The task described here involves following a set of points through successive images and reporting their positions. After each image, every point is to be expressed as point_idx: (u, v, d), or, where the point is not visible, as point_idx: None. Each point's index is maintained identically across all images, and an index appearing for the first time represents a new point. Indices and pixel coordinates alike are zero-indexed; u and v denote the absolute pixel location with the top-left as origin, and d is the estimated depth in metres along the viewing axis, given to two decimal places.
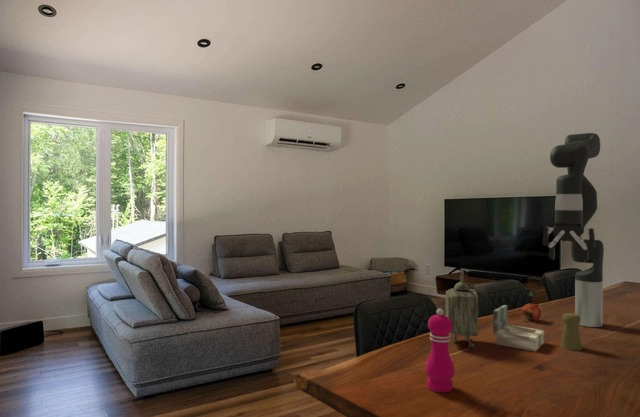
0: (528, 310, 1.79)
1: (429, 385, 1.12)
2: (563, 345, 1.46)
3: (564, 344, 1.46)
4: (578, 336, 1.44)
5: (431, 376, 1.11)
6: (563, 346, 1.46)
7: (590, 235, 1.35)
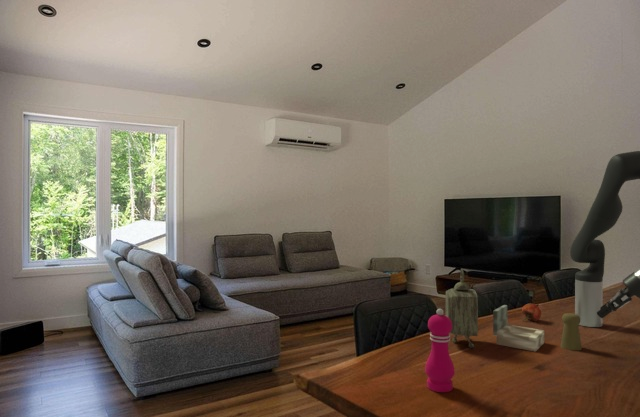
0: (528, 310, 1.79)
1: (429, 385, 1.12)
2: (563, 345, 1.46)
3: (564, 344, 1.46)
4: (578, 336, 1.44)
5: (431, 376, 1.11)
6: (563, 346, 1.46)
7: None
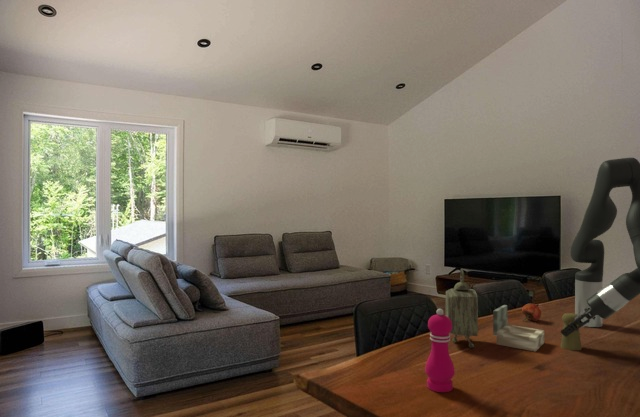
0: (528, 310, 1.79)
1: (429, 385, 1.12)
2: (563, 345, 1.46)
3: (564, 344, 1.46)
4: (578, 336, 1.44)
5: (431, 376, 1.11)
6: (563, 346, 1.46)
7: None
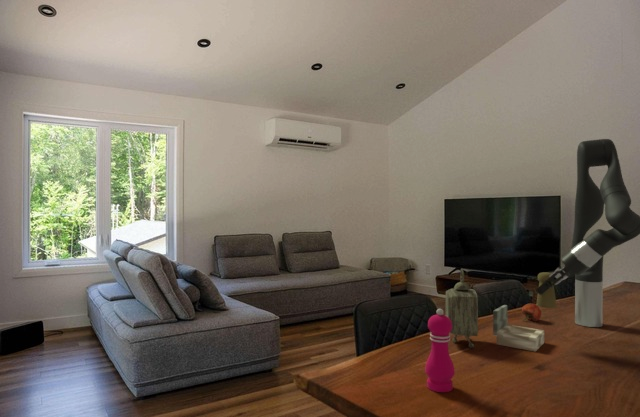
0: (528, 310, 1.79)
1: (429, 385, 1.12)
2: (538, 303, 1.47)
3: (539, 302, 1.47)
4: (553, 294, 1.46)
5: (431, 376, 1.11)
6: (538, 304, 1.47)
7: None
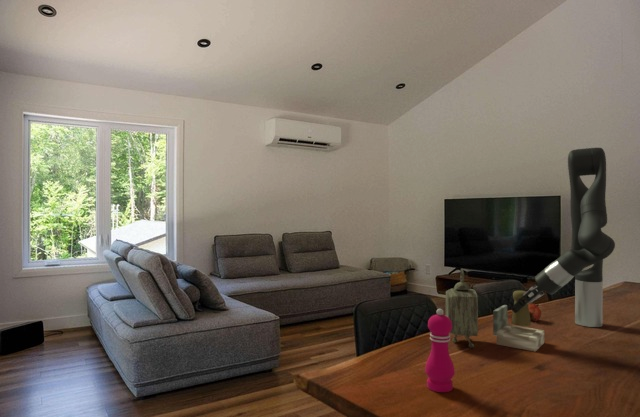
0: None
1: (429, 385, 1.12)
2: (513, 321, 1.50)
3: (514, 320, 1.49)
4: (527, 312, 1.48)
5: (431, 376, 1.11)
6: (513, 322, 1.50)
7: None
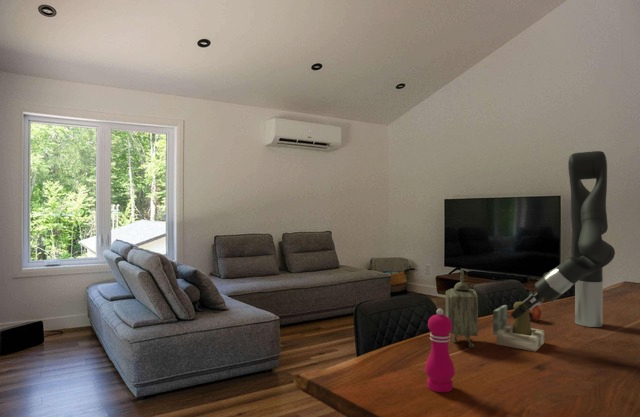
0: None
1: (429, 385, 1.12)
2: (514, 332, 1.50)
3: (515, 332, 1.49)
4: (528, 323, 1.48)
5: (431, 376, 1.11)
6: None
7: None
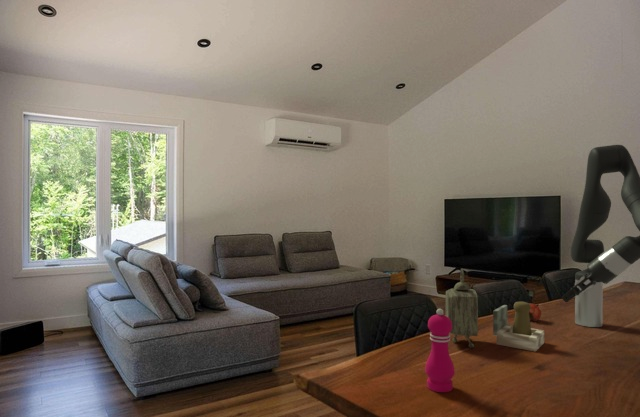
0: None
1: (429, 385, 1.12)
2: (514, 332, 1.50)
3: (515, 332, 1.49)
4: (528, 323, 1.48)
5: (431, 376, 1.11)
6: None
7: None
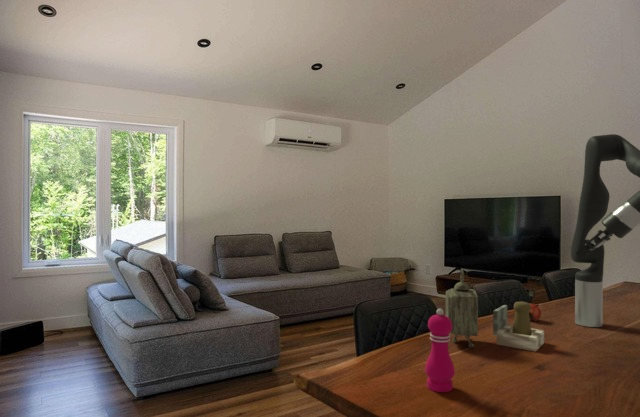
0: None
1: (429, 385, 1.12)
2: (514, 332, 1.50)
3: (515, 332, 1.49)
4: (528, 323, 1.48)
5: (431, 376, 1.11)
6: None
7: None
